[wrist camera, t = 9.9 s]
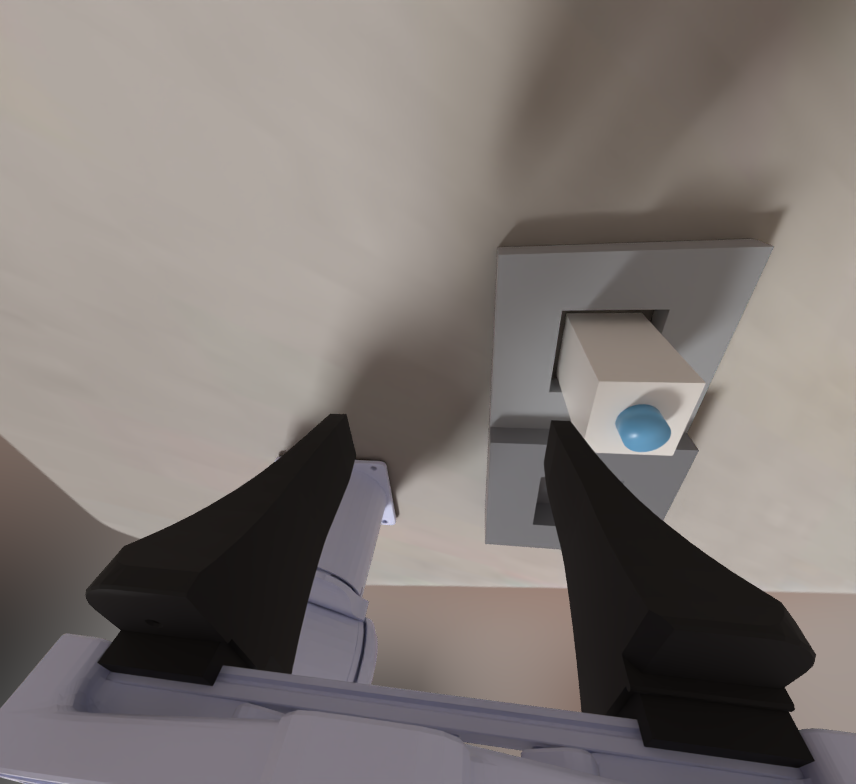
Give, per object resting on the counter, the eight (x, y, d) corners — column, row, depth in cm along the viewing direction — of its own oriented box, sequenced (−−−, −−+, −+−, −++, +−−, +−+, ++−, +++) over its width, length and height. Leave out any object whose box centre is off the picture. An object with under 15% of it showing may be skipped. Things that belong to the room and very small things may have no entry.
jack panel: (484, 512, 31) (485, 543, 29) (497, 247, 19) (499, 263, 16) (631, 521, 30) (645, 555, 27) (753, 238, 17) (798, 255, 15)
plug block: (556, 373, 23) (585, 467, 16) (566, 313, 20) (605, 395, 14) (623, 374, 22) (682, 472, 16) (641, 312, 20) (719, 397, 13)
